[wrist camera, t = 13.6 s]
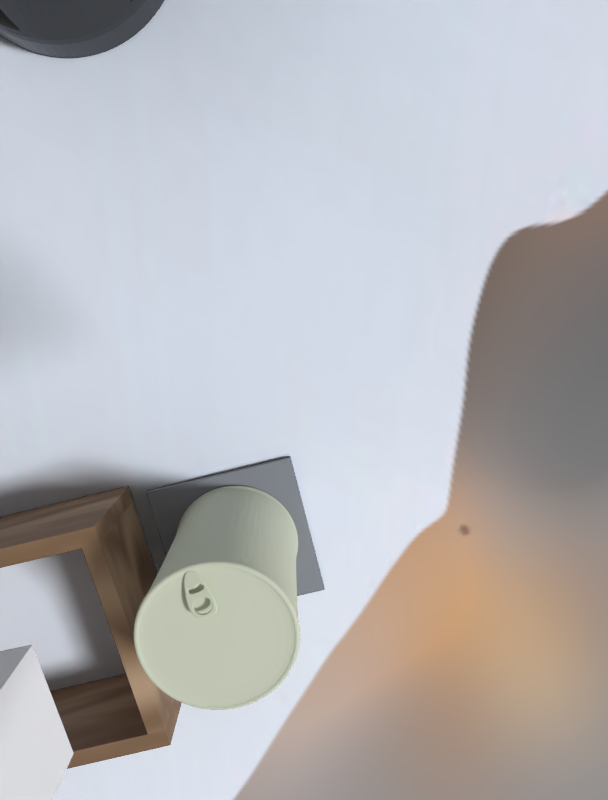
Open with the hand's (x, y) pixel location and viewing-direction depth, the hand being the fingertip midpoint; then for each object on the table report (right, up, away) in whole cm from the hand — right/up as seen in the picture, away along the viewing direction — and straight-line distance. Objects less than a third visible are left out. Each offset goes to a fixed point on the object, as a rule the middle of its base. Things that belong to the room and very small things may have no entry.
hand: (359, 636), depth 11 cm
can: (-6, -6, +30) cm, 31 cm away
